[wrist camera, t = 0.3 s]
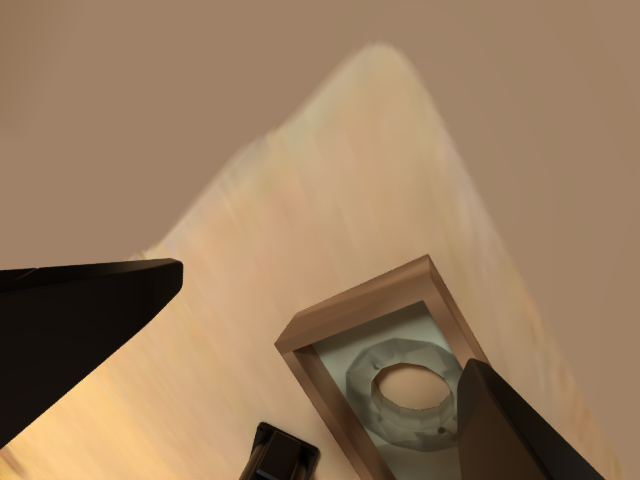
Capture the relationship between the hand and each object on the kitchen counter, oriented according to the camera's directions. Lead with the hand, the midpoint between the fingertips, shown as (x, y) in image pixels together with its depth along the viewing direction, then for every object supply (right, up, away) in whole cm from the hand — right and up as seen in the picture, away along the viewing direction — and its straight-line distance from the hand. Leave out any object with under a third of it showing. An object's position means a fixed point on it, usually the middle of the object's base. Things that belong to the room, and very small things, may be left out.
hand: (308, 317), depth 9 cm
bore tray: (+8, -9, +16) cm, 20 cm away
